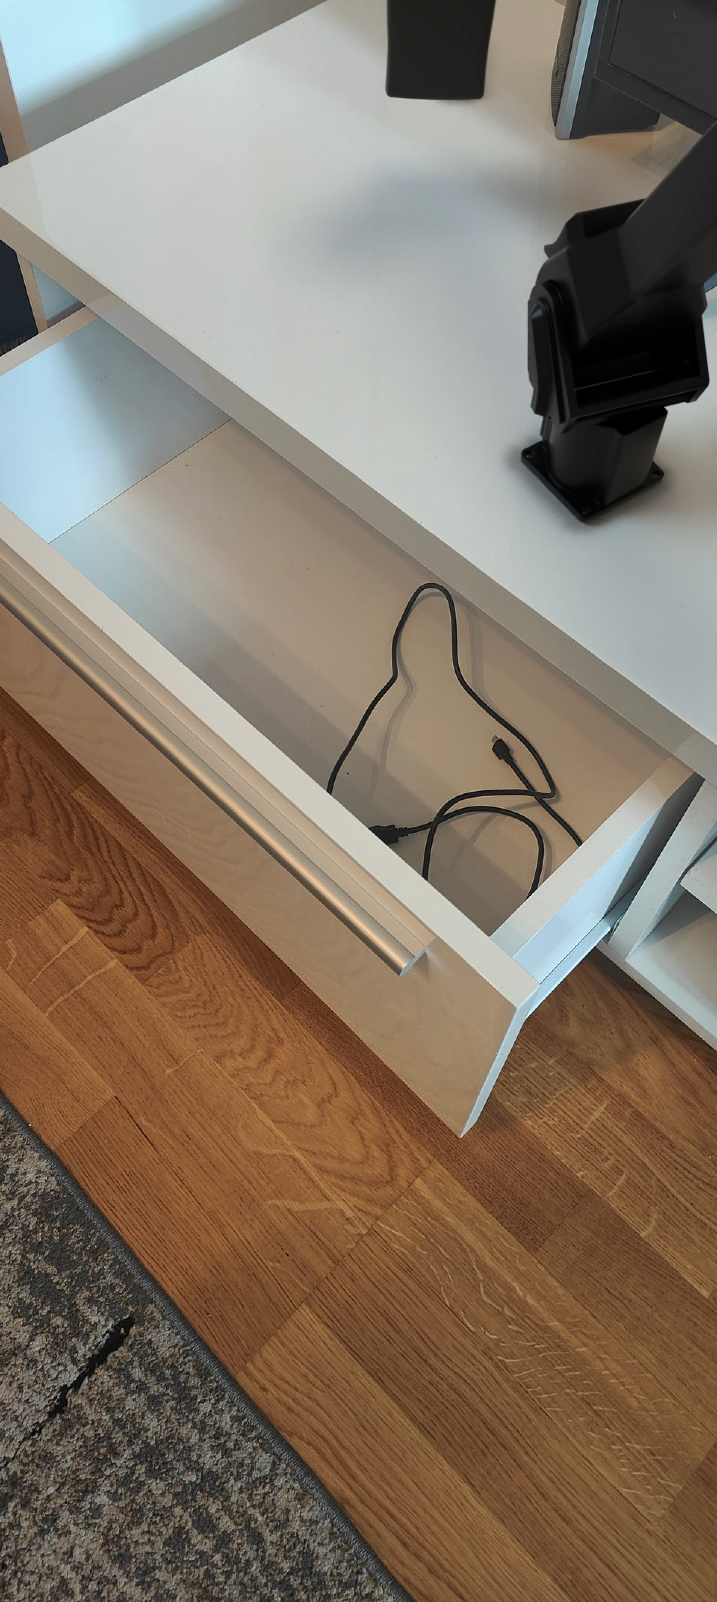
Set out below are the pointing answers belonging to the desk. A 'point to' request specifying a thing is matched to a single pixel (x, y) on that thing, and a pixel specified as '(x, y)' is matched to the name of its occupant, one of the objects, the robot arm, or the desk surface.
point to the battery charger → (437, 48)
